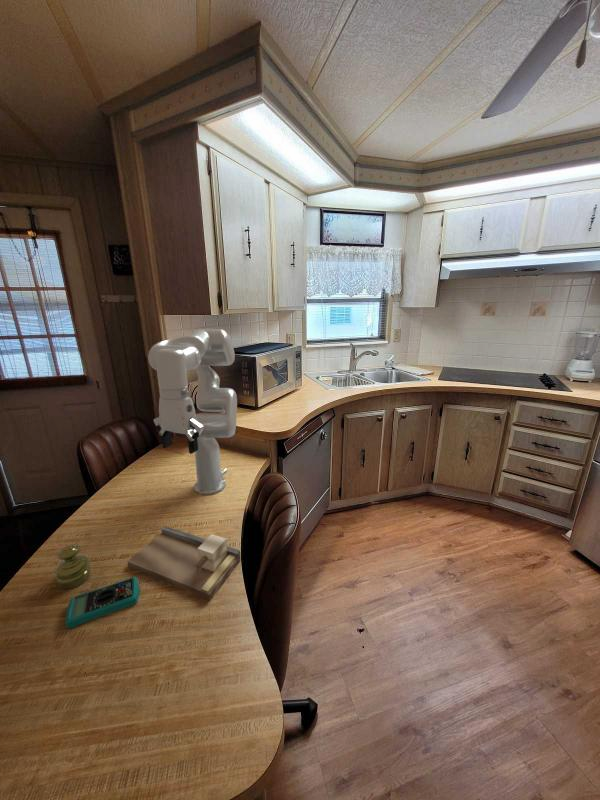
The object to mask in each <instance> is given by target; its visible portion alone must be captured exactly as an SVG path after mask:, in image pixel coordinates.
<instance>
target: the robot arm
mask: <svg viewBox="0 0 600 800" xmlns="http://www.w3.org/2000/svg"><path fill="white" fill-rule="evenodd" d="M235 355H236V354H235V350H234V346H233V344H232V341H231V338H230V336H229V334H228V332H227V331H225V330H224V329H221V328H220V329H219V328H200V329H195V330H193V331H192V332H190V333H189V334H187V335H184V336H180V337H173V338H170V339H169V338H168V339H165V340H161V341H159V342H157V343H155V344H153V345H152V346H151V348H150V349H149V351H148V356H147V357H148V363H149V366H150V367H151V368H152V369H154V370H155V371H156V374H157V382H158V384H157V385H158V390H159V402H158V417H156V418H155V417H154V419H153V423H154V425H155V427H156V430H157V431H158V432H159V433H158V434H159V436H161V442H162V443H161V445H162V448H163V449H166V448H169V447H170V446H171V447H172V445H173V437H172V433H176V434H181V435H185V436H186V437H187V438H188V439H189V440H188V441H187V445H188V453H189V454H190V455H192V454H194V458H195V459H194V460H195V461H194V462H195V471H196V479H197V480H196V482H195V483H194V484H193V490H194V492H196V493H197V494H199V495H203V496H204V495H205V496H207V495H214V494H216V493H219V492H221V491H222V490H223V489H225V487H226V479H225V478H223V477H224V475H225V474H227V472H228V469H227V468H223V469H221V467H222V466H221V454H220V445H219V443H218V441H217V439H216V438H231V437H233V436H234V435H235V433H236V429H237V428H236V427H237V413H238V412H237V411H238V397H237V393H236V391H235V390H234V389H233V388H230V387H220V385H221V384H220V382H221V379H220V376H219V375H218V373H217V372H216V371H215V370H214V369H213V368H212V366H213V367H216V366H217V367H221V366H222V367H224V366H231V365H232V364H233V363H234V362H235V358H236V357H235ZM191 371H195V372H196V374H197V378H198V379H197V380H198V382H197V390H196V391H197V392H196V402H195V403H196V407H197V409H198V410H199V411H202V412H200V413H196V409H195V406H194V405H195V404H194V402H193V401H194V400H193V399H192V397H190V396H191V393H192V392H191V391H190V390H189V385H188V384H189V382H188V374H187V372H191Z"/></svg>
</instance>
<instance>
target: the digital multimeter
mask: <svg viewBox="0 0 600 800" xmlns="http://www.w3.org/2000/svg"><path fill="white" fill-rule="evenodd" d="M138 581H139V580H138V578H137V576H133V577H130V578H127V579H125V580H124V579H123V580H121V581H118V582H116V583H113V584H110V585H107V586H103V587H100V588H98V589H95V590H91V591H88V592H85V593H82V594H77V595H75V596H73V597H71V599H70V600H69V604H68V607H67V611H66V616H65V624H66V625H65V626H66V629H68V630H69V629H73V628H75V627H77V626H80V625H82V624H84V623H85V624H86V623H87V622H90V621H92V620H95V619H97V618H101V617H103V616H105V615H108V614H112V613H114V612H117V611H121V610H123V609H126V608H129V607H132V606H135V605H137V603H138V601H139V597H140V584H139V582H138Z"/></svg>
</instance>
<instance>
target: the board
mask: <svg viewBox="0 0 600 800" xmlns="http://www.w3.org/2000/svg"><path fill="white" fill-rule="evenodd" d="M206 539H207V538H204V537H202V536H201V537H200V536H197V535H194V534H191V533H187V532H185V531H182V530H179V529H175V528H173V527H169V526H167V525H164V526H163V527H162V528H161V533H159V534H158V535H157V536H155V538H153V539H152V540H151V541H150V542H149V543H148V544H147V545H145V546H144V547H142V548H141V549H140V550H139V551H138V552H137V553H135V554H134V555H133V556H132V557H130V559H128V560H127V562H126V563H127V568H129V569H132V570H133V571H136V572H139V573H142V574H144V575H146V576H149V577H151V578H153V579H156V580H158V581H161V582H164V583H166V584H168V585H171V586H173V587H175V588H178V589H180V590H183V591H185V592H188V593H190V594H193V595H195V596H198V597H200V598H202V599H205V600H207V601H211V600H212V599H213V598H214V597H215V595H216V594H217V592H218V591H219V590H220V588H221V587H222V586H223V584H224V583H225V582H226V581H227V579H228V578H229V577H230V575H231V574H232V573H233V571H234V570H235V568H236V567H237V566H238V565H239V563H240V562H241V558H242V557H241V550H240V549H237V548H234V547H232V546H228V545H227V557H226V559H225V560H224V561H223V562H222V564H221V565H220V566H219V567H218V568H217V570H216V571H215V572H213V571H210V570H207V569H205V568H202V567H201V572H199V568H197V566H196V564H197V563H198V562H199V558H198V547H199V546H200V545H201V544H202V543H203V542H204V541H205V540H206Z"/></svg>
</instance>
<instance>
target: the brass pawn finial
mask: <svg viewBox="0 0 600 800" xmlns="http://www.w3.org/2000/svg"><path fill="white" fill-rule="evenodd" d="M81 548H82V547H81V545H80V544H77V543H72V544H69V545H66V546H64V547H63V548H61V549H60V550H58V552H57V553H56V557H57V559H58V560H62V561H61V562H60V563H58V565H57V566H56V568H55V570H54V575H55V577H56V579H55V580H56V582H57V587H59V588H60V589H63V590H70V589H74V588H76V587H79V586H80V585H83V584H84V582H86V581H87V580H88V579H89V578H90V576H91V575H92V568H91V567H92V566H91V564H90V558H89V556H87V555H85V554H79V553H80V551H81Z"/></svg>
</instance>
